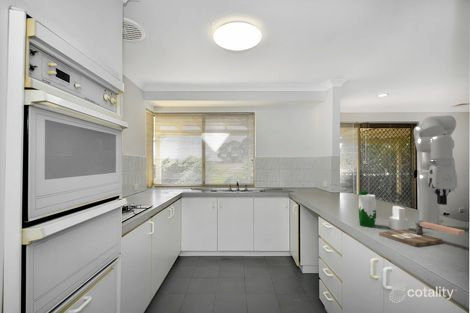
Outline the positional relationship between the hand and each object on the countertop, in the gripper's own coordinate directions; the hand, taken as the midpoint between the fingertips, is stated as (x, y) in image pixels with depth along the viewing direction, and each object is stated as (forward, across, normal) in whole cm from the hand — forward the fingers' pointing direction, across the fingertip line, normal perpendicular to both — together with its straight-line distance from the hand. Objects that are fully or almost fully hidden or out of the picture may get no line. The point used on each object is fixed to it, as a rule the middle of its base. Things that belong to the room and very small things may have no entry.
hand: (441, 204), depth 110 cm
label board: (+19, -7, +11) cm, 23 cm away
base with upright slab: (+19, +1, +29) cm, 35 cm away
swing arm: (+13, +2, +5) cm, 14 cm away
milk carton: (+19, -13, +36) cm, 43 cm away
